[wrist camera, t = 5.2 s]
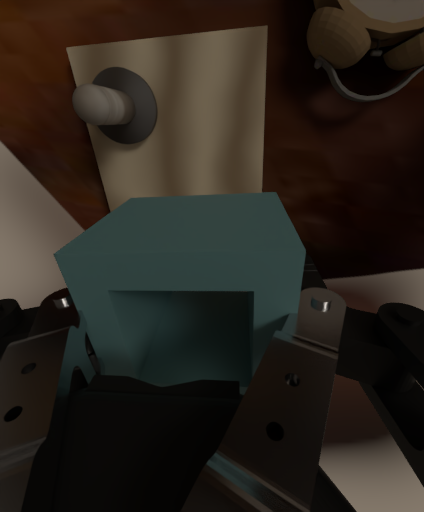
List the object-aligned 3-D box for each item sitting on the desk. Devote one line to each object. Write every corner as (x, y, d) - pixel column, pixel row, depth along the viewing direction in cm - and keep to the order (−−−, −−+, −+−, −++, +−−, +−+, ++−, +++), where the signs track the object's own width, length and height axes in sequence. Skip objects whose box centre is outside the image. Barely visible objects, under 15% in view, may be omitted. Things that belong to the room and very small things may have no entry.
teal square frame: (275, 191, 10) (306, 250, 5) (268, 309, 13) (285, 409, 8) (130, 197, 10) (53, 254, 6) (155, 307, 13) (115, 399, 9)
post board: (265, 31, 20) (283, -22, 12) (259, 213, 27) (268, 248, 19) (76, 52, 21) (-9, 15, 14) (118, 217, 28) (77, 252, 21)
